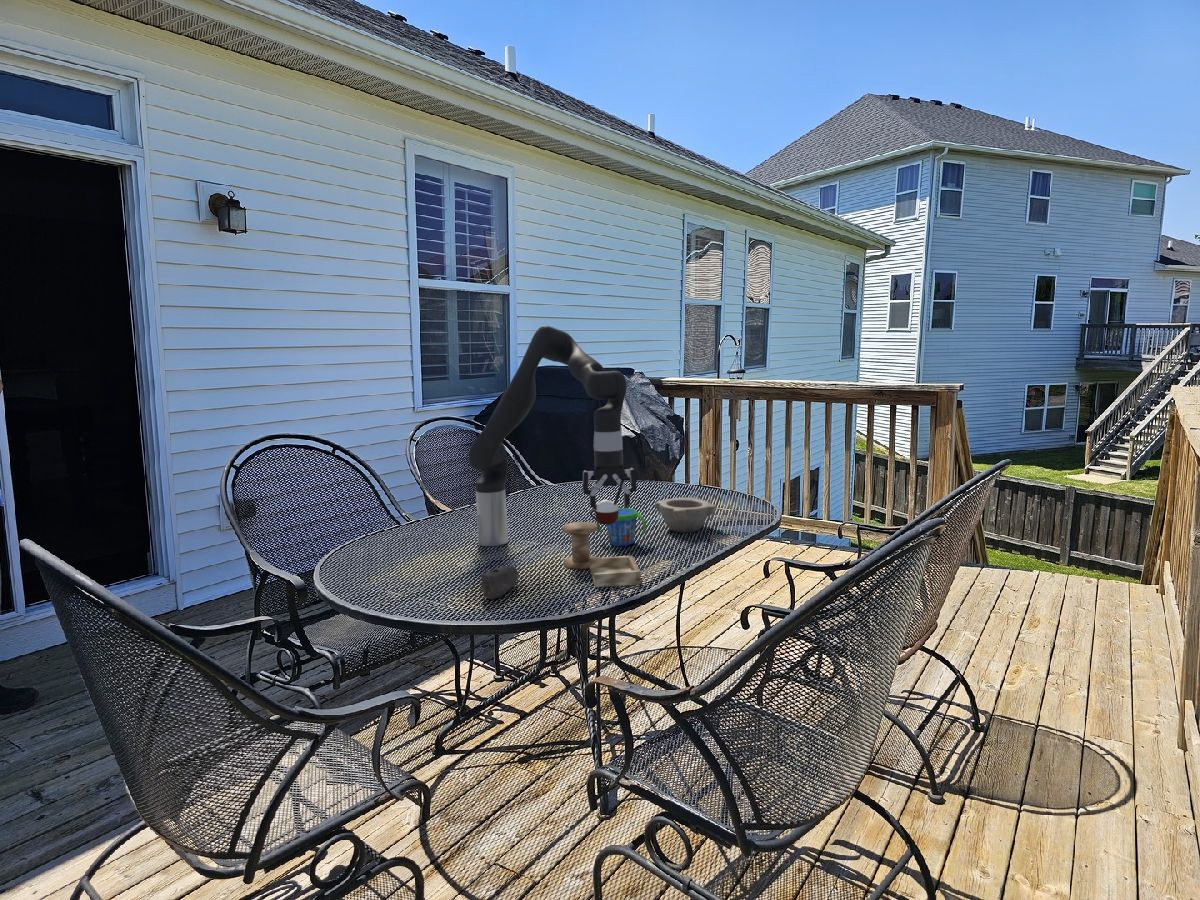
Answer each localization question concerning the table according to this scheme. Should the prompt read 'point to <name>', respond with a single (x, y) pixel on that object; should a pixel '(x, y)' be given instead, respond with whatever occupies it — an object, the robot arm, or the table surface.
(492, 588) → the perforated stone tool
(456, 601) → the table surface
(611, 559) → the shallow rimmed tray
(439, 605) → the table surface
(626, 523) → the snack cup
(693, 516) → the mortar
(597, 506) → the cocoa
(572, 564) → the tan spool shaped stand
